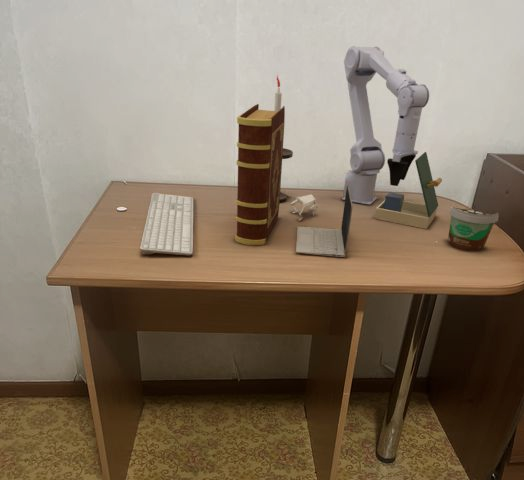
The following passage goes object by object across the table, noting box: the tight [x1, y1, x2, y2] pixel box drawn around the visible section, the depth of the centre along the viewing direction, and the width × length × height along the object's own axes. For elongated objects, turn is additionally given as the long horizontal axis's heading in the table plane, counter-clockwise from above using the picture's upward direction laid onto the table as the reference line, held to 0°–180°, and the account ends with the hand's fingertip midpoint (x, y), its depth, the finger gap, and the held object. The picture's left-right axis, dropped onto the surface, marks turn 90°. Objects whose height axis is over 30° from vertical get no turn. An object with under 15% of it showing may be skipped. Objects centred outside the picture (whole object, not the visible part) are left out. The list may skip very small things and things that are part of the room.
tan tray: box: [373, 199, 438, 230], centre depth 155 cm, size 16×12×3 cm
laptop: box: [295, 185, 354, 258], centre depth 133 cm, size 18×12×13 cm
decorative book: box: [234, 103, 286, 246], centre depth 134 cm, size 22×8×30 cm, turn 168°
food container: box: [447, 203, 499, 252], centre depth 135 cm, size 12×6×10 cm, turn 62°
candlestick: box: [273, 74, 294, 203], centre depth 157 cm, size 11×11×35 cm
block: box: [384, 191, 405, 212], centre depth 156 cm, size 4×4×6 cm
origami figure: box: [289, 193, 319, 222], centre depth 152 cm, size 12×8×5 cm
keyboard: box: [139, 192, 194, 257], centre depth 142 cm, size 44×12×2 cm, turn 6°
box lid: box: [414, 151, 443, 217], centre depth 148 cm, size 16×12×4 cm
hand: (397, 182), depth 152 cm, fingers open, 7 cm apart
